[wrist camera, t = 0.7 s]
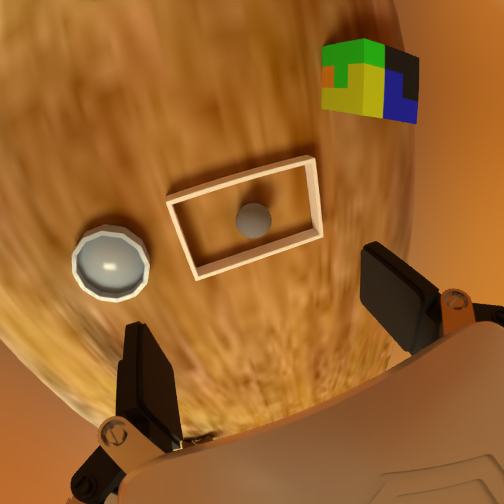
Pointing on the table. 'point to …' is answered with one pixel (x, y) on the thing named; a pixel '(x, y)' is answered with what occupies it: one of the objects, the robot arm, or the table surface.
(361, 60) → the puzzle toy
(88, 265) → the bowl
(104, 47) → the table surface
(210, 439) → the kendama
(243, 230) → the ball
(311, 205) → the white rectangular frame
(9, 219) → the table surface
